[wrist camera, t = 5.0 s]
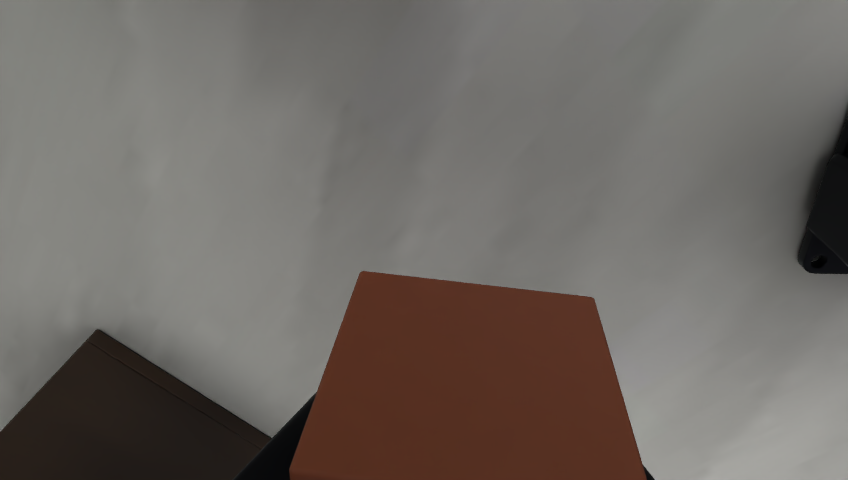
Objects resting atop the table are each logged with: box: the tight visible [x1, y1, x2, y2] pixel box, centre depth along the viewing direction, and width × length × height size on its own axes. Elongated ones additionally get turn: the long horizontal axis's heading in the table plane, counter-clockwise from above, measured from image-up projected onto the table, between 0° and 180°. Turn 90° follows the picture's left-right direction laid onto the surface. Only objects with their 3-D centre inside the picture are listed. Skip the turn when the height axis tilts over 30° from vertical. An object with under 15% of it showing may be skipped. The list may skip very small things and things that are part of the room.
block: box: [289, 271, 647, 480], centre depth 9 cm, size 4×4×4 cm
